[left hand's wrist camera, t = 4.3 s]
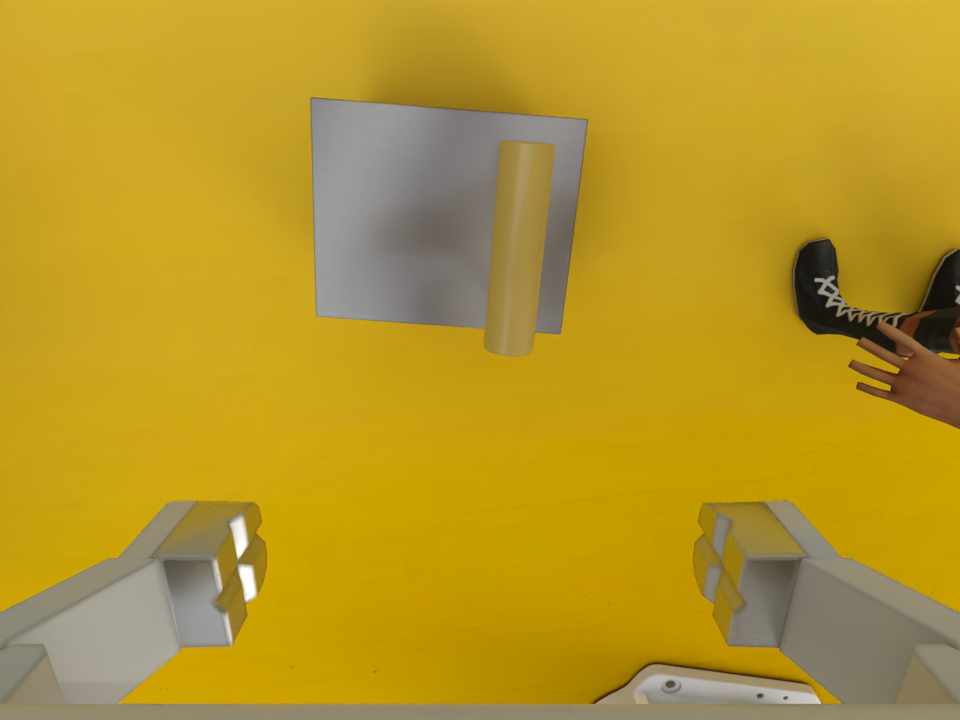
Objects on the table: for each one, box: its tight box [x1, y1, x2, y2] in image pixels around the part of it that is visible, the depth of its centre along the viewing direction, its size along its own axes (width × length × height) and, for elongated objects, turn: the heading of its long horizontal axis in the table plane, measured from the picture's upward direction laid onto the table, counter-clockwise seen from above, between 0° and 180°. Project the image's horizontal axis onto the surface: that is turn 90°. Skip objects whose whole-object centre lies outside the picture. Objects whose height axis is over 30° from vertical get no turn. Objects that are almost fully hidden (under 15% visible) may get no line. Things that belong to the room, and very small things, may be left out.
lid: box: [311, 97, 588, 356], centre depth 24 cm, size 12×10×9 cm
